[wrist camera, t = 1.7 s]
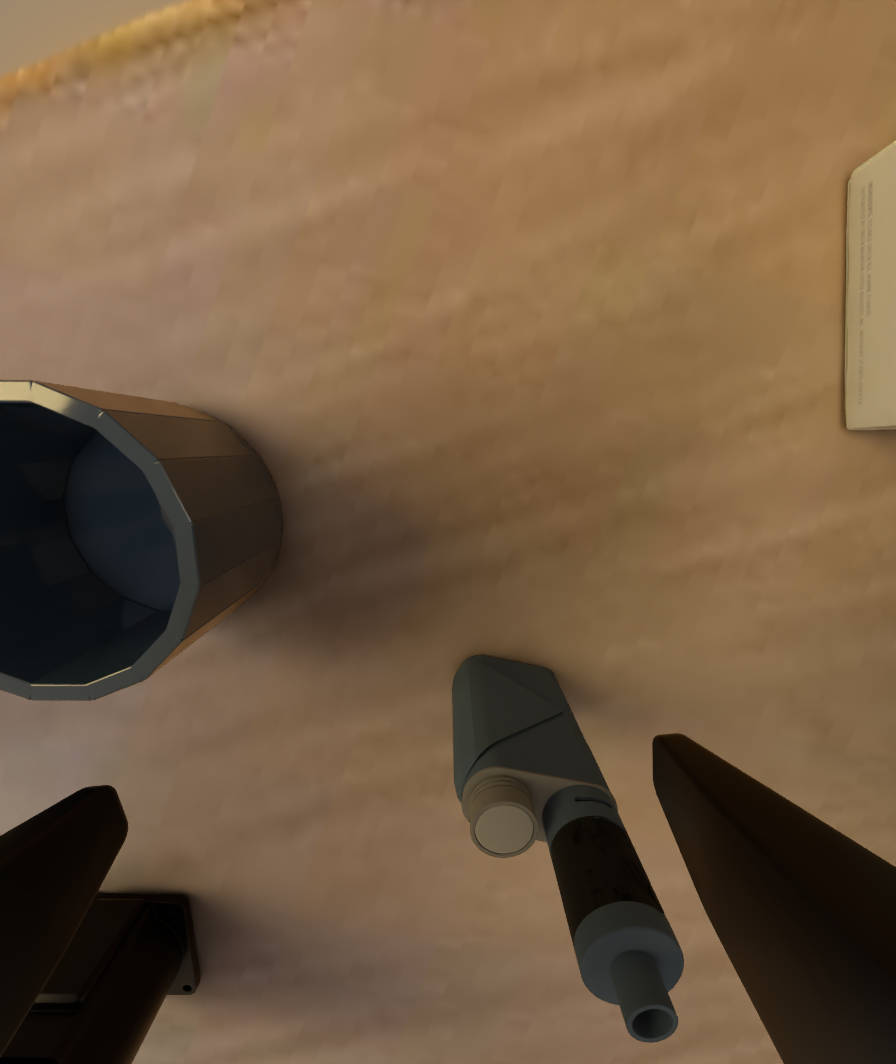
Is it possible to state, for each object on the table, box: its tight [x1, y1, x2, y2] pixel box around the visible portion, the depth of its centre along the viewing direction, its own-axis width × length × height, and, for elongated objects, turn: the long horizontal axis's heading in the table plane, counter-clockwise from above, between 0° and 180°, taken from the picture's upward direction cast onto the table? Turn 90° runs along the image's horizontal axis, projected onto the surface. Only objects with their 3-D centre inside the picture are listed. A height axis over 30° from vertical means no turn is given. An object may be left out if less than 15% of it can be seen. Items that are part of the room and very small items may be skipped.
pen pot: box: [0, 380, 282, 701], centre depth 15 cm, size 10×10×6 cm
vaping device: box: [452, 655, 684, 1042], centre depth 14 cm, size 3×5×12 cm, turn 78°
